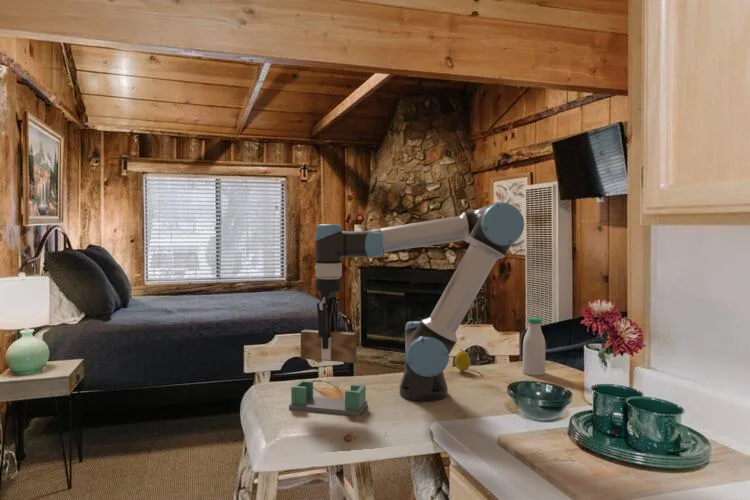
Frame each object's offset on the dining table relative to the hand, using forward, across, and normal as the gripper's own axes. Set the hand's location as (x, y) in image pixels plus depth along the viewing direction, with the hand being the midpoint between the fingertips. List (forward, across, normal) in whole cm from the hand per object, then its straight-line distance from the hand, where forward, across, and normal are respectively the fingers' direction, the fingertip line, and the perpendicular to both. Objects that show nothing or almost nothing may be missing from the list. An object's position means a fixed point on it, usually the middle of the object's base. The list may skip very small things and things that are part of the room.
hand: (328, 357), depth 154 cm
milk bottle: (+15, -52, +60) cm, 81 cm away
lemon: (+15, -47, +35) cm, 60 cm away
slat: (0, 0, 0) cm, 0 cm away
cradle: (+15, 0, 0) cm, 15 cm away
